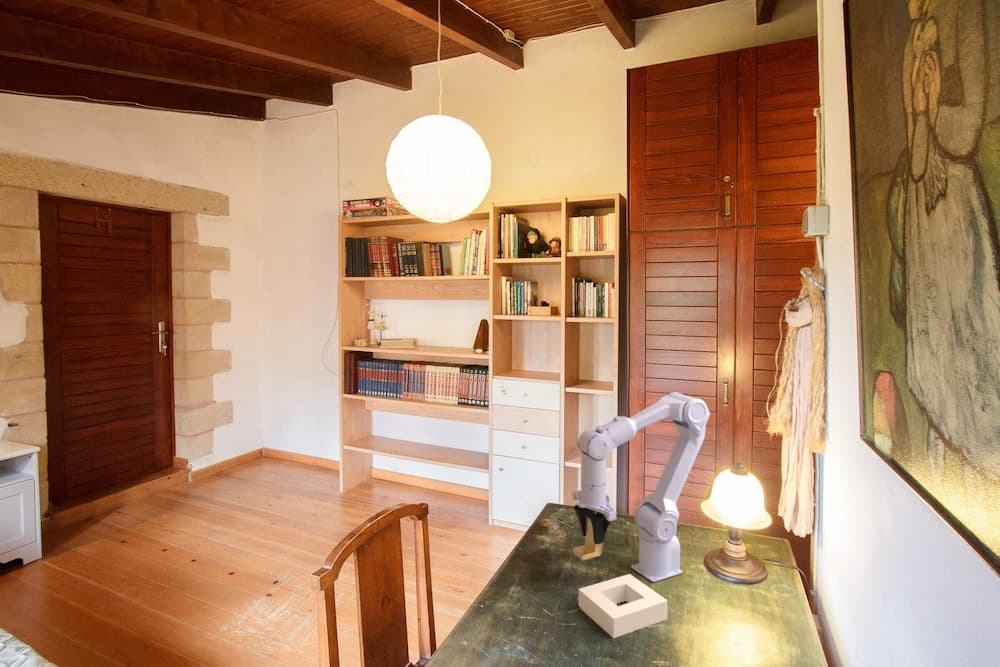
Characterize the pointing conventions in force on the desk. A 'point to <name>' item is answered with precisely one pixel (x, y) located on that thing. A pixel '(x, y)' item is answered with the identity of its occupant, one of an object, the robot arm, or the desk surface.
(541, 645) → the desk surface
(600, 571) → the desk surface
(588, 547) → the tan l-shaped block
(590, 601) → the well block
